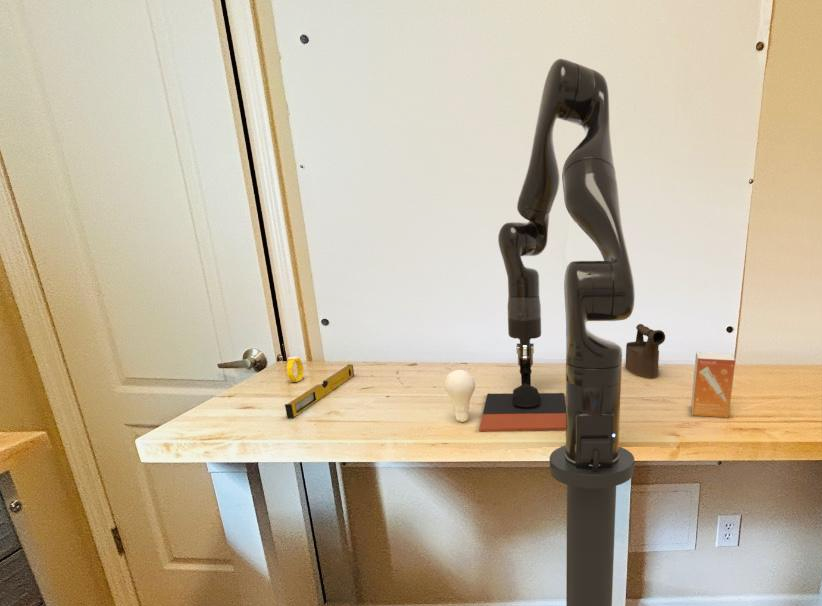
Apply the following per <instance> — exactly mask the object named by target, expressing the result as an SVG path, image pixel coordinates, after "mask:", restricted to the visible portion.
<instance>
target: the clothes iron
mask: <svg viewBox="0 0 822 606" xmlns="http://www.w3.org/2000/svg"><path fill="white" fill-rule="evenodd" d="M635 329H636V331H637V332H636V337H635V341H629V342H626V346H625V363H624V368H625V370H627V371H628V372H629V373H632V374H633V375H635V376H637V377H642V378H645V379H655V378H657V377H658V376H659V362H660V361H659V359H660V350H659V347H660V345H662V344H664V343H665V340H666V334H665V331H663V330H661V329H655V330H654V329H651V328H650V327H649V326H645V325H644V324H642V323H638V324H637V325H636V326H635ZM644 336H646V337H647V339H646V340H645V339H644Z"/></svg>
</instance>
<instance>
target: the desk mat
mask: <svg viewBox="0 0 822 606" xmlns="http://www.w3.org/2000/svg"><path fill="white" fill-rule="evenodd" d="M512 394H513V392H511V393H487V395H486V399H485V403H484V407H483V411H482V416H481V420H480V424H479V430H478V431H479V432H522V431H523V432H524V431H525V432H531V431H533V432H534V431H535V432H537V431H566V397H565V393H564V392H539V394H540V398H541V403H540V405H538V406H534V407H526V408H524V407H517V406H514V405H513V404H512Z"/></svg>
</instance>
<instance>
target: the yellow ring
mask: <svg viewBox="0 0 822 606" xmlns="http://www.w3.org/2000/svg"><path fill="white" fill-rule="evenodd" d="M286 360H287V363H286V374H287V378H288V380H289V381H290V382H291V383H297V382H299V381H301V380H303V377H304V366H303V362H302V361H301V356H295V355H294V356H289V357H287V358H286ZM294 364H295V365H296V370H297V371H296V372H297V373H296V376H295V375H294Z"/></svg>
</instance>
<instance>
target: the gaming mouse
mask: <svg viewBox="0 0 822 606" xmlns="http://www.w3.org/2000/svg"><path fill="white" fill-rule="evenodd" d="M512 393H513V394H512V404H513V405H514V406H517V407H524V408H526V407H534V406H538V405H540V403H541V398H540V394H539V393H540V392H539V390H538V388H537V387H535V386H533V385H532V384H531V385H529V384H526V383H525V384H523V385H519V386H517V387H515V388H514V389H513V390H512Z"/></svg>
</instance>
